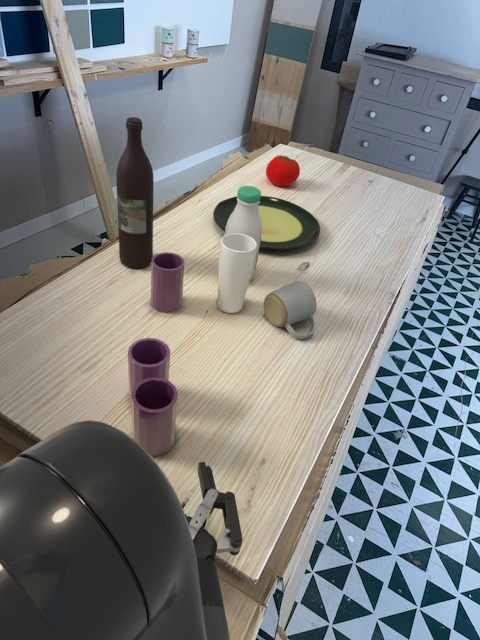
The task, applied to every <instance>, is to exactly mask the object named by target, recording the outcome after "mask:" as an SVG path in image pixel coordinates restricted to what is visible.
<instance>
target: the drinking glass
mask: <svg viewBox="0 0 480 640" xmlns="http://www.w3.org/2000/svg"><path fill="white" fill-rule="evenodd" d="M224 235H225V234H224ZM224 235H223V236H222V238H221V240H220V246H219V251H218V262H217V263H218V264H217V267H218V268H217V297H216V306H217V308H218V309H219V310H220V311H222V312H223V313H227V314H236V313H238V312H240V311H241V310H242V309H243V307H244V304H245V303H244V302H245V299H246V294H247V291H248V287H249V284H250V281H249V280H250V277H251V273H252V270H253V266H254V262H255V256H256V249H257V243H256V241H255V240H254V239H253V238H251V237H250V236H247V235H244V234H239V233H232V234H227V235H225V236H224Z"/></svg>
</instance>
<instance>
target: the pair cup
mask: <svg viewBox="0 0 480 640" xmlns="http://www.w3.org/2000/svg"><path fill="white" fill-rule="evenodd" d="M170 364H171V349H170V347H169V345H168V344H167V343H166V342H165V341H163V340H161V339H158V338H154V337H144V338H139V339H138V340H136V341H134V342H133V343H132V344H130V346H129V347H128V350H127V371H128V372H127V373H128V375H127V376H128V396H129V402H130V404H131V405H132V400H131V396H132V391H133V388H134V387H135V386H136V385H137V384H138V383H139V382H141V381H142V380H144V379H148V378H152V377H155V378H163V379H166V380H168V381H170V369H171V368H170V366H171V365H170Z"/></svg>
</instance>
